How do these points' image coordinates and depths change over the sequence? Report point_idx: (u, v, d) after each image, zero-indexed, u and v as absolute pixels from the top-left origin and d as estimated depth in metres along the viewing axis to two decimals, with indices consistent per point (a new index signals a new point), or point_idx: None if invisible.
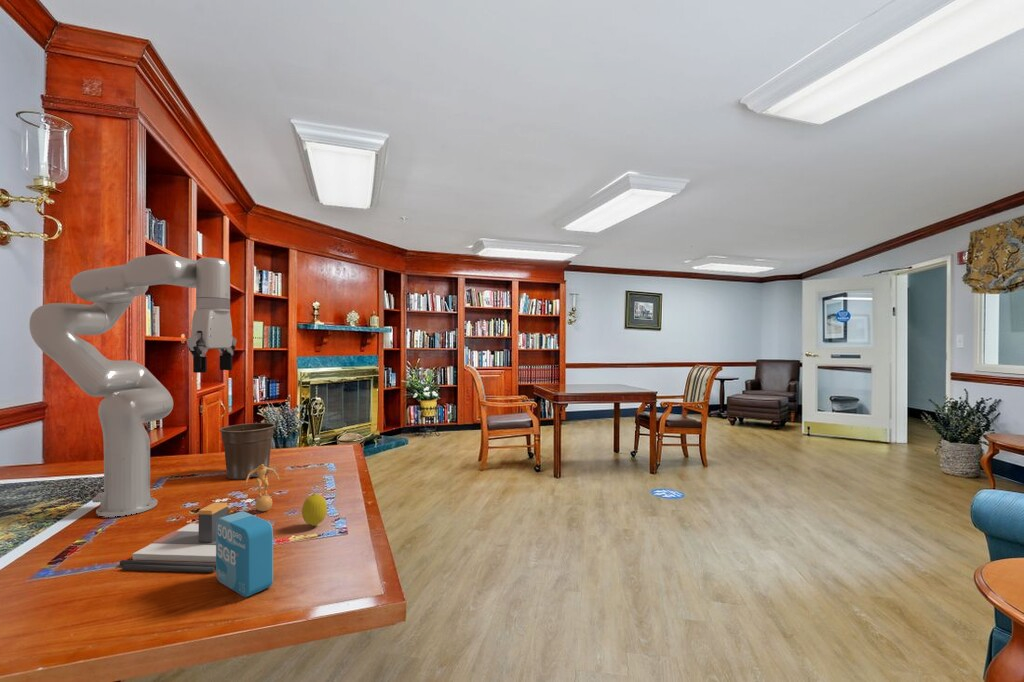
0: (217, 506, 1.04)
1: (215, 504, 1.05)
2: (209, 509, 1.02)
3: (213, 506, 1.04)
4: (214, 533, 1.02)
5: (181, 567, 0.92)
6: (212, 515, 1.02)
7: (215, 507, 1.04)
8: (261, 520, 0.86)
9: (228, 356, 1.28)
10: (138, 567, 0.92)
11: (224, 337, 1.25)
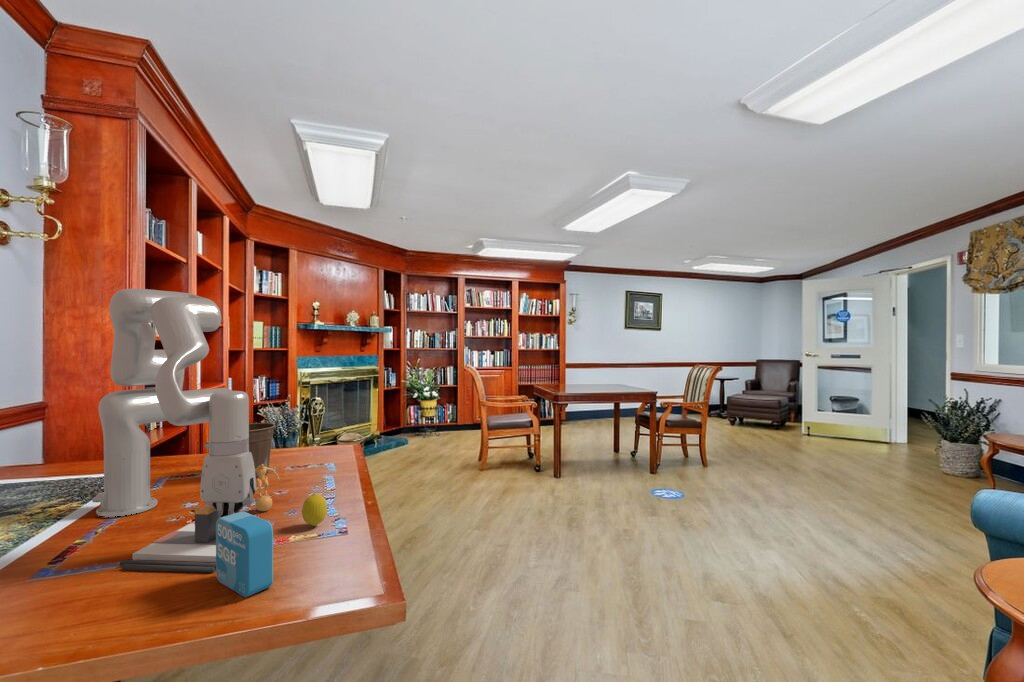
0: (213, 506, 1.04)
1: None
2: (205, 509, 1.02)
3: (209, 506, 1.04)
4: (210, 533, 1.02)
5: (181, 567, 0.92)
6: (208, 515, 1.02)
7: (211, 507, 1.04)
8: (261, 520, 0.86)
9: None
10: (138, 567, 0.92)
11: None
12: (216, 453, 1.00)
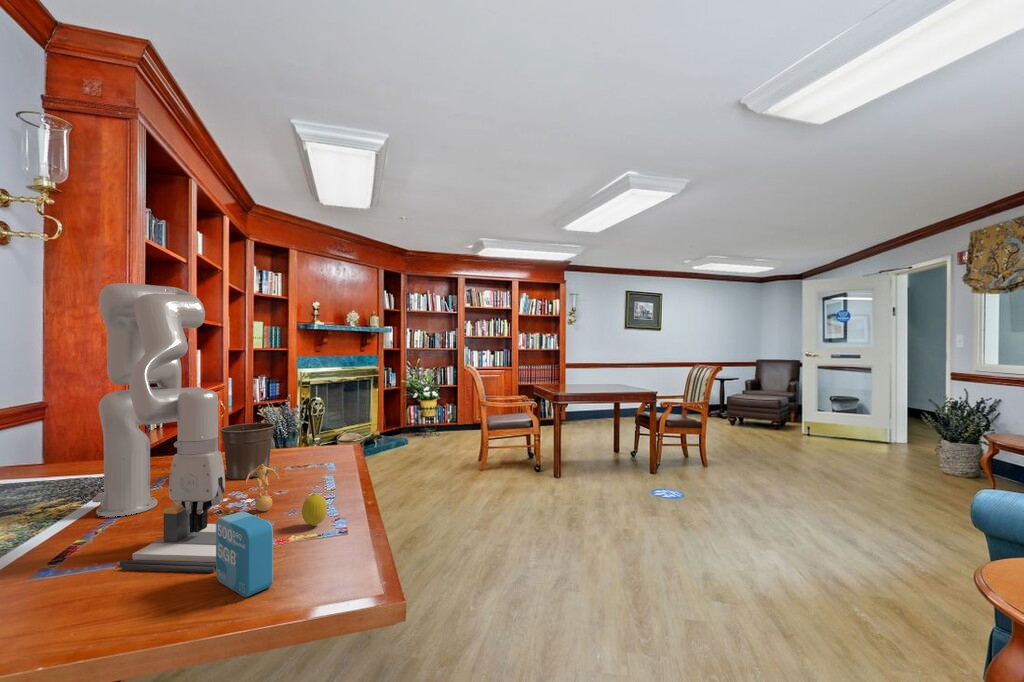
0: None
1: None
2: (174, 508, 1.03)
3: (179, 505, 1.05)
4: (179, 532, 1.03)
5: (181, 567, 0.92)
6: (177, 514, 1.02)
7: (181, 506, 1.04)
8: (261, 520, 0.86)
9: None
10: (138, 567, 0.92)
11: None
12: (184, 452, 1.01)
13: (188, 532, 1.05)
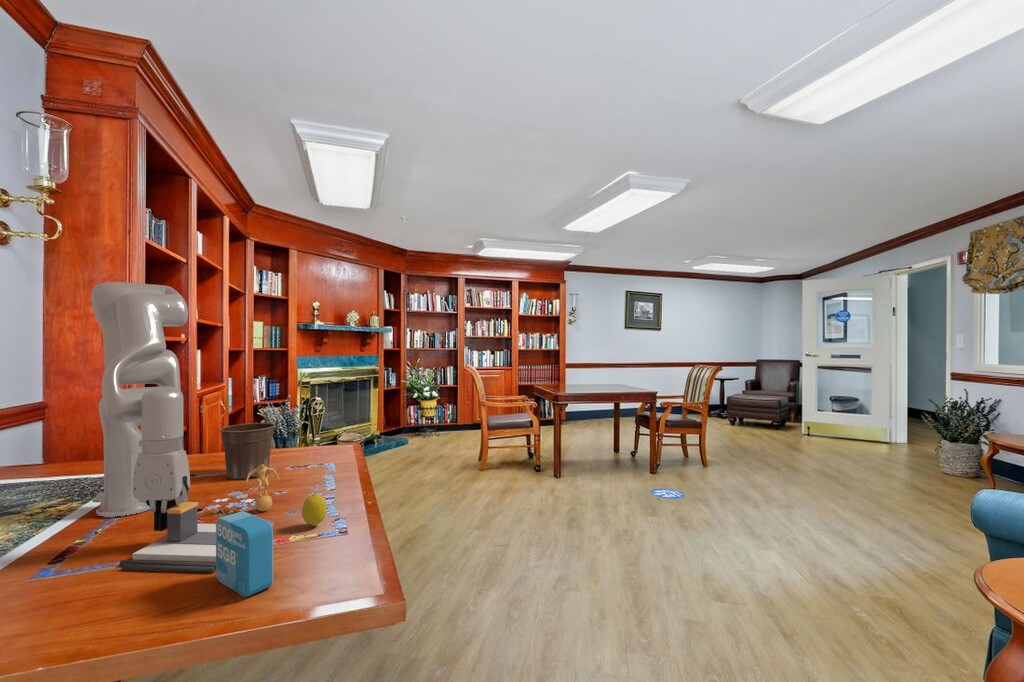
0: (186, 505, 1.05)
1: (185, 503, 1.06)
2: (178, 508, 1.03)
3: (182, 505, 1.05)
4: (183, 532, 1.03)
5: (181, 567, 0.92)
6: (180, 514, 1.02)
7: (184, 506, 1.04)
8: (261, 520, 0.86)
9: None
10: (138, 567, 0.92)
11: None
12: (147, 451, 1.01)
13: (192, 532, 1.05)
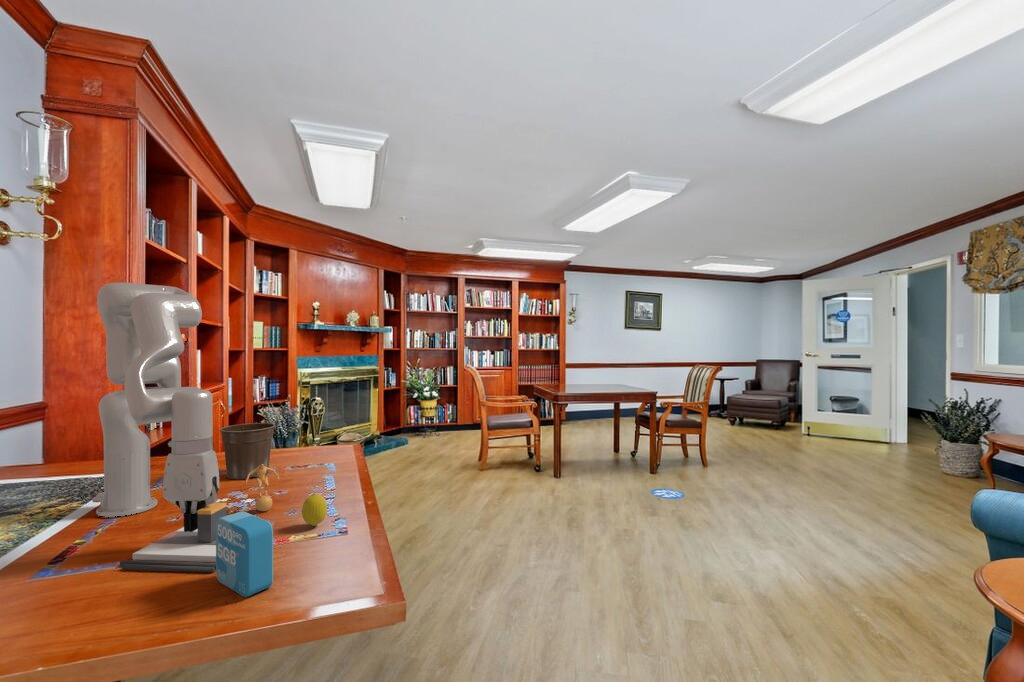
0: (216, 506, 1.04)
1: (214, 504, 1.05)
2: (208, 509, 1.02)
3: (212, 506, 1.04)
4: (213, 533, 1.02)
5: (181, 567, 0.92)
6: (211, 515, 1.02)
7: (214, 507, 1.04)
8: (261, 520, 0.86)
9: None
10: (138, 567, 0.92)
11: None
12: (178, 451, 1.01)
13: None
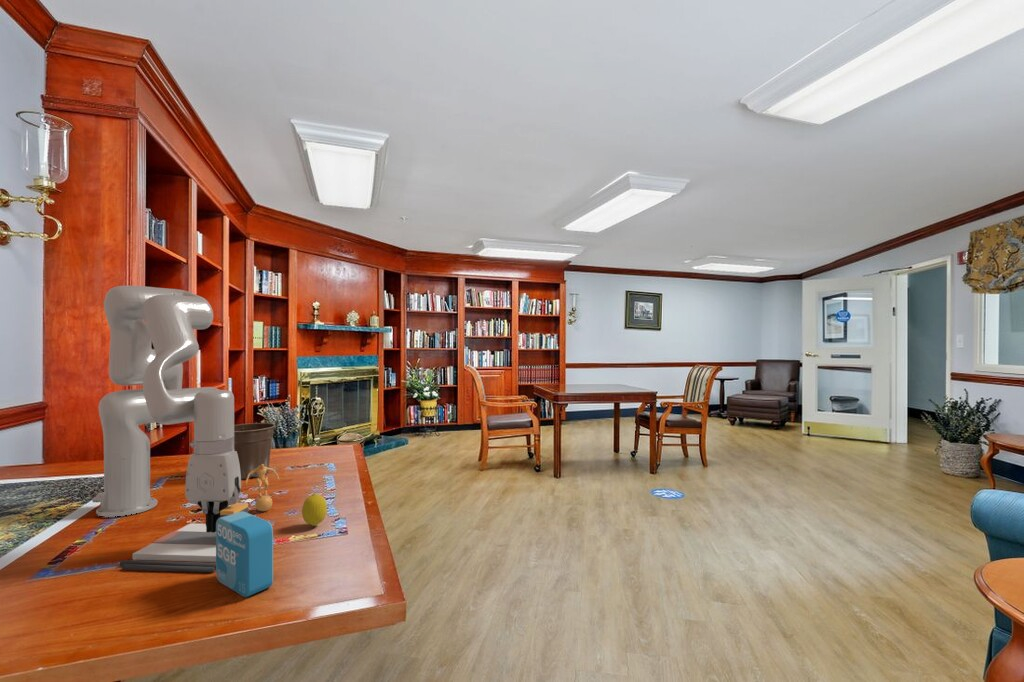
0: (238, 506, 1.04)
1: (236, 504, 1.05)
2: (231, 510, 1.02)
3: (234, 506, 1.04)
4: None
5: (181, 567, 0.92)
6: None
7: (236, 507, 1.03)
8: (261, 520, 0.86)
9: None
10: (138, 567, 0.92)
11: None
12: (201, 452, 1.00)
13: None
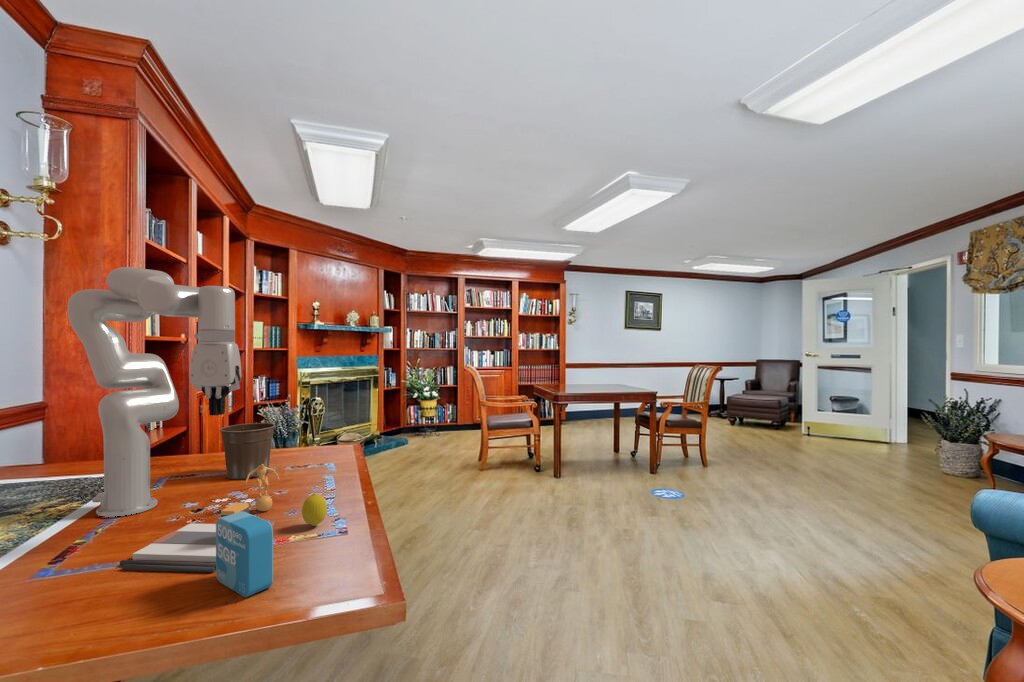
0: (239, 507, 1.04)
1: (237, 504, 1.05)
2: (231, 510, 1.02)
3: (235, 507, 1.04)
4: None
5: (181, 567, 0.92)
6: None
7: (237, 508, 1.03)
8: (261, 520, 0.86)
9: None
10: (138, 567, 0.92)
11: None
12: (204, 339, 1.10)
13: None
